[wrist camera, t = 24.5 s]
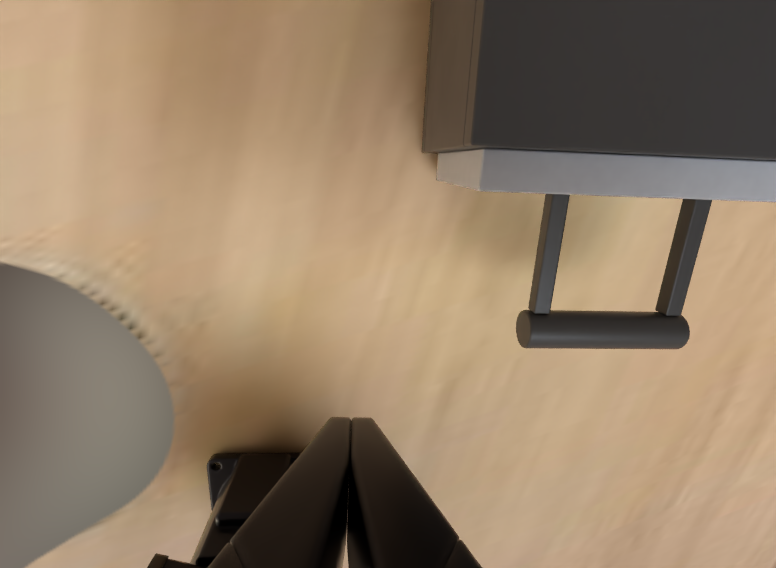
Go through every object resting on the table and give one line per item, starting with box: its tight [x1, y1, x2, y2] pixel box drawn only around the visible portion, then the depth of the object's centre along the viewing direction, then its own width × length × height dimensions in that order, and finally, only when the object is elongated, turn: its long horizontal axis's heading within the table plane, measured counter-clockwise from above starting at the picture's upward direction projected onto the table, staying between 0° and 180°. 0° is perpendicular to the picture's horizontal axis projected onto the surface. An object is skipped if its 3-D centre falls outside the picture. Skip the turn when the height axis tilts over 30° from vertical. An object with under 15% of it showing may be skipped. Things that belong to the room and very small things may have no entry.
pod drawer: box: [436, 148, 776, 349], centre depth 14 cm, size 19×11×7 cm, turn 178°
